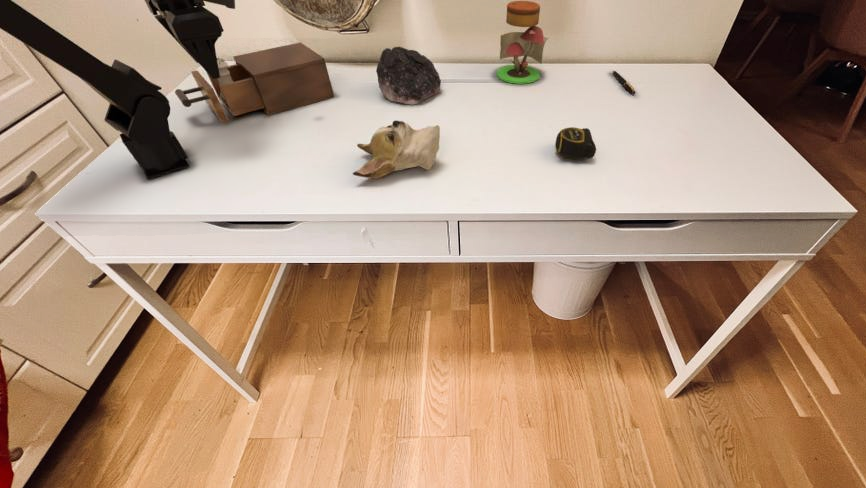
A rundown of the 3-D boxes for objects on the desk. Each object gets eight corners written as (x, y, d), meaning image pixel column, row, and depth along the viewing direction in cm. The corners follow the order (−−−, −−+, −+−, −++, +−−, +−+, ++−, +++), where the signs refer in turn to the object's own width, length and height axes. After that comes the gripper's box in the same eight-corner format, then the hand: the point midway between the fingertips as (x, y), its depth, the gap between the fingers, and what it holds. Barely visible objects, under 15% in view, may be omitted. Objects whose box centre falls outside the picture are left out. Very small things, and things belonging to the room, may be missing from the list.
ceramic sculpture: (440, 132, 59) (341, 143, 59) (446, 180, 66) (357, 191, 65) (436, 102, 67) (347, 111, 66) (442, 148, 73) (361, 157, 72)
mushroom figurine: (547, 85, 93) (557, 12, 82) (495, 84, 93) (498, 11, 82) (543, 66, 101) (551, -2, 90) (494, 66, 101) (497, -3, 90)
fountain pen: (609, 72, 99) (610, 66, 98) (613, 72, 100) (615, 66, 98) (631, 96, 90) (633, 90, 89) (636, 96, 90) (638, 89, 89)
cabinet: (269, 115, 81) (253, 75, 75) (249, 95, 88) (232, 56, 82) (334, 97, 88) (324, 58, 82) (311, 79, 94) (300, 42, 88)
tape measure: (593, 164, 70) (598, 145, 68) (555, 162, 70) (559, 143, 68) (588, 144, 75) (592, 126, 72) (552, 143, 75) (555, 124, 72)
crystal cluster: (451, 100, 89) (451, 51, 82) (397, 109, 83) (392, 57, 76) (422, 84, 97) (420, 39, 91) (371, 92, 91) (365, 44, 84)
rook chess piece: (250, 101, 81) (232, 59, 75) (228, 107, 79) (208, 66, 73) (240, 94, 83) (222, 54, 78) (219, 101, 81) (199, 59, 75)
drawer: (197, 129, 75) (179, 96, 71) (183, 108, 81) (165, 76, 76) (289, 104, 83) (278, 73, 78) (270, 86, 89) (259, 56, 84)
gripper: (235, -42, 55) (275, 75, 66) (196, -59, 64) (238, 46, 76) (144, -33, 50) (205, 92, 61) (117, -53, 59) (174, 58, 70)
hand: (208, 70), depth 67 cm, fingers open, 9 cm apart
